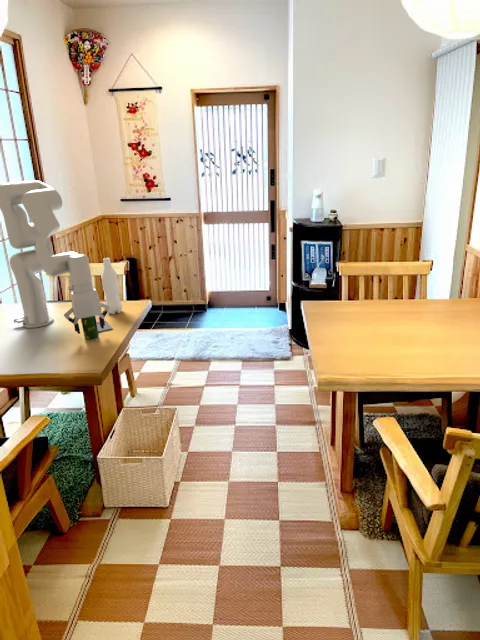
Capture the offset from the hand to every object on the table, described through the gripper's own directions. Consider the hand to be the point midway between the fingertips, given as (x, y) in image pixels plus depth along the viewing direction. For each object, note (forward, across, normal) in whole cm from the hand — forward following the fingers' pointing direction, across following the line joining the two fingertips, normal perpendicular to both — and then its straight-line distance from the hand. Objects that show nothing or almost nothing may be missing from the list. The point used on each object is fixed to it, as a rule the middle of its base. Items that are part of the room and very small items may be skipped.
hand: (90, 330), depth 180 cm
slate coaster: (+4, +5, +10) cm, 12 cm away
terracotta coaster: (+4, +5, +21) cm, 22 cm away
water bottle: (+4, +16, +27) cm, 32 cm away
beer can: (+4, 0, 0) cm, 4 cm away
